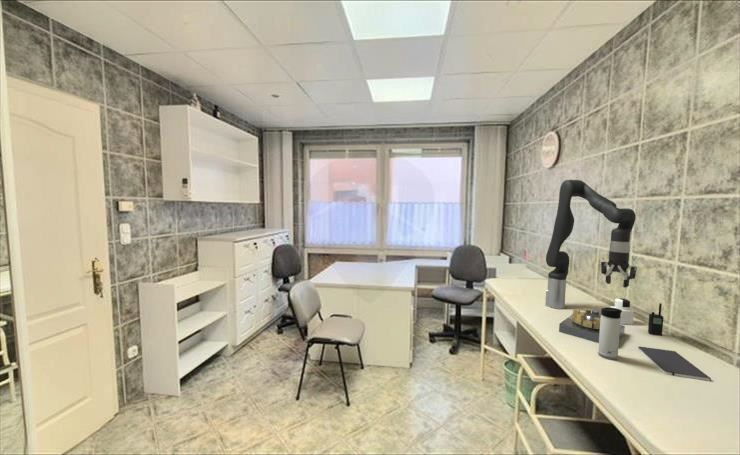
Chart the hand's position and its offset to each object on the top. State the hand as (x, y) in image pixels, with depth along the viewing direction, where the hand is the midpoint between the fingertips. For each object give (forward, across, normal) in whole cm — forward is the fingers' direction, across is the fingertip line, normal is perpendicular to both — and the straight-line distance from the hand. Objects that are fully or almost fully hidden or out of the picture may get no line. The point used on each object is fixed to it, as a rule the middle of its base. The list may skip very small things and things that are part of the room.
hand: (616, 285), depth 148 cm
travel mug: (+23, +13, -30) cm, 40 cm away
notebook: (+23, +26, -14) cm, 38 cm away
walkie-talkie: (+23, +10, +15) cm, 29 cm away
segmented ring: (+18, -4, -8) cm, 20 cm away
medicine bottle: (+23, -6, +18) cm, 30 cm away
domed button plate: (+23, -3, -12) cm, 26 cm away
